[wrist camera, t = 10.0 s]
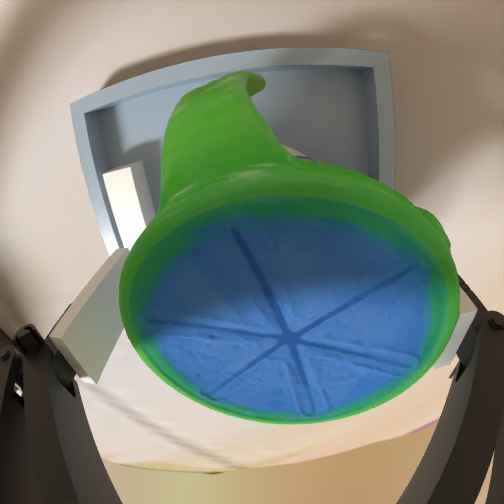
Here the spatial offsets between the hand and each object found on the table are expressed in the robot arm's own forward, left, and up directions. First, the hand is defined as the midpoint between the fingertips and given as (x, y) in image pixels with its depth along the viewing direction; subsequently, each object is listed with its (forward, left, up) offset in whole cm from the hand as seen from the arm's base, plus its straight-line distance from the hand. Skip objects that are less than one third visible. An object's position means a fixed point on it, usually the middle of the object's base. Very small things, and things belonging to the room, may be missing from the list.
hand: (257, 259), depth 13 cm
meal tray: (-1, 0, -5) cm, 5 cm away
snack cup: (+2, 0, -4) cm, 5 cm away
